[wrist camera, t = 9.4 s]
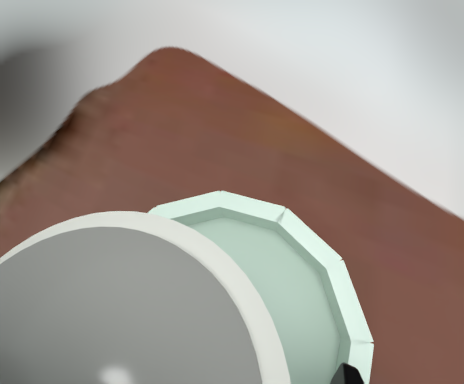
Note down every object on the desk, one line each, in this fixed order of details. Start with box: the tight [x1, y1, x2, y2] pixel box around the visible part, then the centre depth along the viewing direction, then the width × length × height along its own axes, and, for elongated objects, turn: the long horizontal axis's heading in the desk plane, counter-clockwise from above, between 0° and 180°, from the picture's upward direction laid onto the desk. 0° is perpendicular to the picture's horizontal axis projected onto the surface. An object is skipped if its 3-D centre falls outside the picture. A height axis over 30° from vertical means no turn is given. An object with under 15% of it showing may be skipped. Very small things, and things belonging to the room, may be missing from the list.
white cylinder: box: [0, 211, 291, 384], centre depth 10 cm, size 6×6×13 cm
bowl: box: [148, 191, 374, 384], centre depth 16 cm, size 15×15×3 cm
